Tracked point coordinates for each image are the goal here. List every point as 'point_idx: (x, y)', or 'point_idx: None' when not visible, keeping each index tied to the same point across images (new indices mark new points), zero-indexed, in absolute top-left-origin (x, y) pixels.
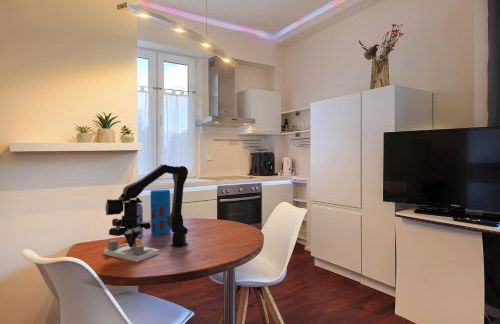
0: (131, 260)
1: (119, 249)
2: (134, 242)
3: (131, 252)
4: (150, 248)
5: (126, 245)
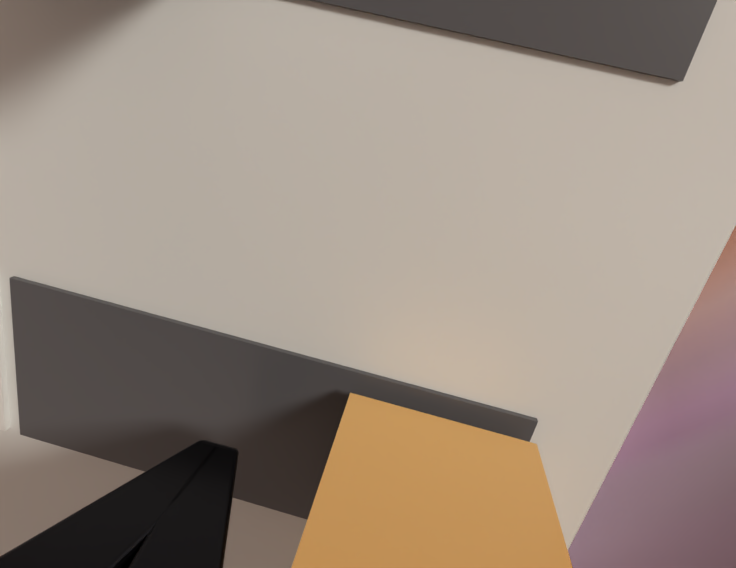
0: None
1: (147, 109)
2: None
3: None
4: None
5: (593, 18)
